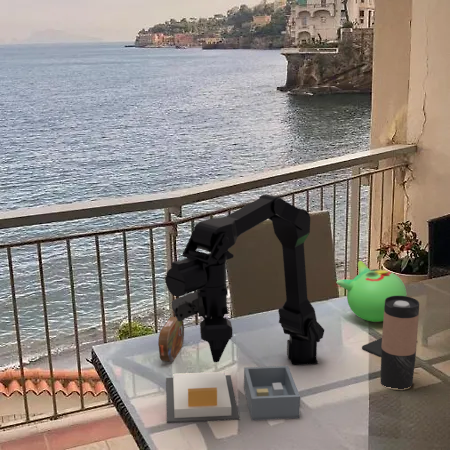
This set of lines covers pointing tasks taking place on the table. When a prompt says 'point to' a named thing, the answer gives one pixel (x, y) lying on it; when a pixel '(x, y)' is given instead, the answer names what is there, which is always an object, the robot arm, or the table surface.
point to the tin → (171, 339)
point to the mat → (172, 418)
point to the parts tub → (271, 393)
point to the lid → (201, 395)
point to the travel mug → (399, 341)
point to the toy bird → (371, 291)
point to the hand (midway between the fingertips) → (214, 351)
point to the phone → (373, 347)
